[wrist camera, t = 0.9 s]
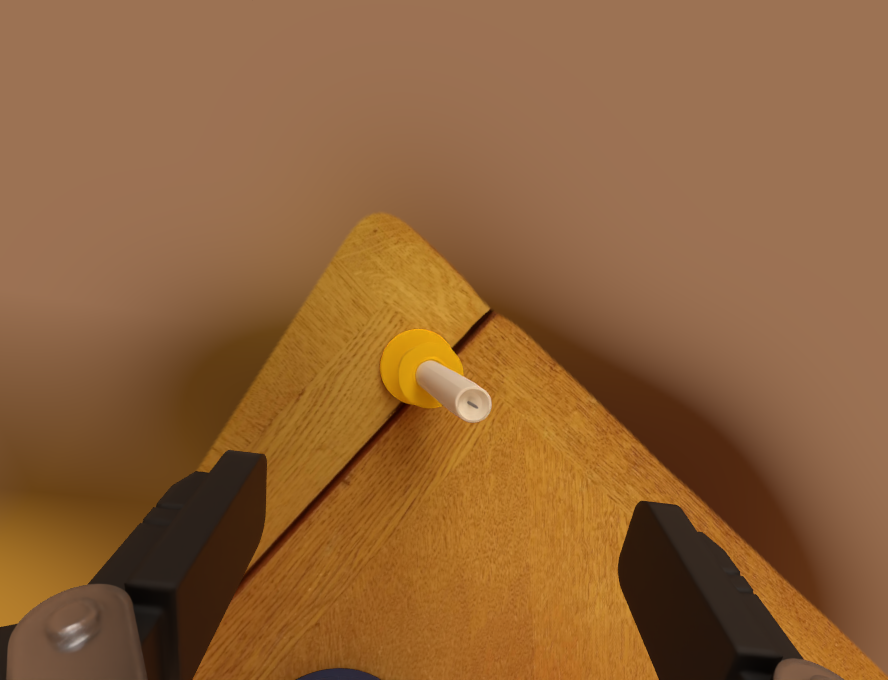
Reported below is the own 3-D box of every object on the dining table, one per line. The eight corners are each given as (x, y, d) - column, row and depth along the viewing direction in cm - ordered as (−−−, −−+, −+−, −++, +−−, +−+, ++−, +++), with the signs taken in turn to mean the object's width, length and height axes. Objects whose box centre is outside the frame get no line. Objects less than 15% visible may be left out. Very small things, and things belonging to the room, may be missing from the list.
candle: (373, 398, 34) (399, 466, 19) (386, 322, 34) (423, 329, 19) (447, 408, 35) (529, 481, 20) (460, 335, 35) (552, 351, 20)
